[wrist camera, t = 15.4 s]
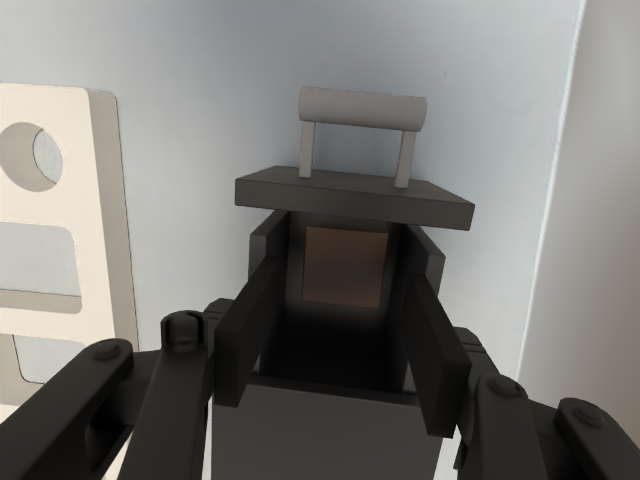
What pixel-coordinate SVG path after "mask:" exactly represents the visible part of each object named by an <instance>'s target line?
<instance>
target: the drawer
mask: <svg viewBox="0 0 640 480" xmlns="http://www.w3.org/2000/svg"><path fill="white" fill-rule="evenodd" d="M426 108H427V101H426V98H424V97H414V96H403V95H392V94H381V93H371V92H360V91H349V90H338V89H328V88H317V87H306V86H303V87H302V88H301V91H300V98H299V118H300V120H301V121H303V130H302V142H301V155H300V168H294V167H284V166H273V167H270V168H267V169H264V170H261V171H258V172H255V173H252V174H249V175H246V176H243V177H240V178H237V179H236V180H235V205H237V206H246V207H255V208H264V209H273V210H275V211H274V212H273V213H272V214H271V215H270V216H269V217H268V218H267V219H266V220H265V221H264V222H263V223H262V224H260V225H259V226H258V227H257V228H256V229H255V230H254V231H253V232H252V233H251V234H250V245H249V269H248V280H249V279H250V277H251V276H252V274H253V273H254V272H255V270H256V269H257V267H258V266H259V264H260V263H261V261H262V260H263V259H264V257H265V256H266V255H268V256H276V257H282V259H281V274H280V289H279V305H278V310H277V313H276V315H275V318H274V320H273V323H272V325H271V327H270V330H269V332H268V335H267V337H266V340H265V342H264V344H263V347H262V349H261V352H260V354H259V357H258V359H257V361H256V364H255V366H254V369H253V371H252V374H251V375H259V376H266V377H274V378H282V379H289V380H297V381H304V382H312V383H320V384H327V385H335V386H342V387H350V388H358V389H365V390H373V391H380V392H388V393H396V394H403V395H411V396H417V392H416V388H415V384H414V381H413V377H412V373H411V369H410V365H409V361H408V357H407V353H406V349H405V346H404V342H403V338H402V334H401V330H400V326H399V321H400V315H401V310H402V304H403V299H404V294H405V288H406V283H407V277H408V272H411V273H419V274H425V275H426V277H427V279H428V281H429V283H430V285H431V286H432V288H433V290H434V292H435V294H436V296H437V297H438V292H439V288H440V283H441V278H442V273H443V268H444V263H445V259H446V257H445V255H444V254H443V253H442V252H441V251H440V249H439V248H438V247H437V246H436V245H435V244H434V243H433V241H432V240H431V239H430V238H429V237H428V236H427V234H426V233H425V232H424V231H423V230H422V229H421V227H420V226H428V227H437V228H446V229H455V230H465V231H469V230H470V226H471V222H472V217H473V213H474V208H475V204H473V203H471V202H469V201H467V200H465V199H463V198H461V197H459V196H457V195H455V194H453V193H451V192H449V191H447V190H445V189H443V188H441V187H438V186H436V185H434V184H432V183H430V182H428V181H419V180H409V174H410V168H411V162H412V156H413V150H414V144H415V138H416V132H420V131H421V129H422V127H423V124H424V120H425V115H426ZM315 122H320V123H330V124H340V125H351V126H361V127H371V128H381V129H391V130H402V131H403V132H402V138H401V145H400V151H399V158H398V164H397V171H396V177H395V178H390V177H380V176H371V175H361V174H352V173H342V172H332V171H323V170H313V169H312V162H313V150H314V139H315V127H316V123H315ZM312 214H319V215H328V216H337V217H346V218H355V219H364V220H373V221H382V222H384V224H385V226H386V228H387V230H388V232H389V239H388V247H387V254H386V262H385V269H384V277H383V284H382V292H381V299H380V307H379V309H376V308H366V307H356V306H346V305H336V304H326V303H316V302H306V301H302V300H301V297H302V281H303V265H304V250H305V234H306V226H307V224H308V221H309V219H310V217H311V215H312Z"/></svg>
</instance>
